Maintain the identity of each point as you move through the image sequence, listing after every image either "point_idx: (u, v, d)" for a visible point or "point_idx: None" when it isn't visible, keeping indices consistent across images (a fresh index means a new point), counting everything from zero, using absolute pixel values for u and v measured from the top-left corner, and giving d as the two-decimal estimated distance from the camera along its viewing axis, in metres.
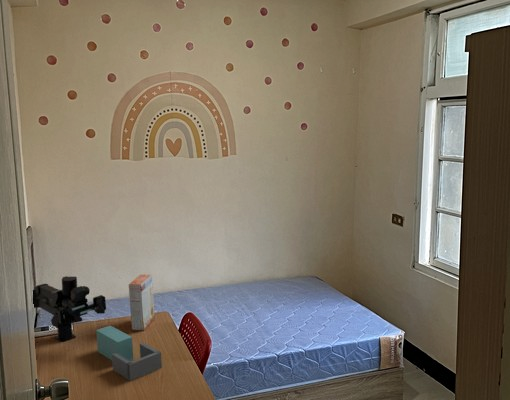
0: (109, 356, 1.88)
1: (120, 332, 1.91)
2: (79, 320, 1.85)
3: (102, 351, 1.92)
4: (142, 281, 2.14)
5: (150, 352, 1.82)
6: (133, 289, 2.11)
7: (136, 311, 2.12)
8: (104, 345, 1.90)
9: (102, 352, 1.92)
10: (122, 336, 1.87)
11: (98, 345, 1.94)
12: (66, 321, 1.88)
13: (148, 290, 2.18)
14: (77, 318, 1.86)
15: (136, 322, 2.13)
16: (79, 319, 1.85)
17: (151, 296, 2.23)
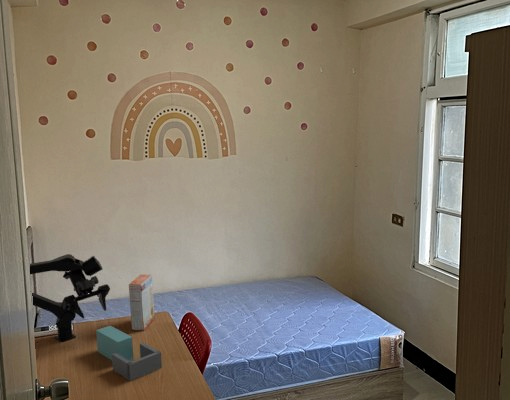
0: (109, 356, 1.88)
1: (120, 332, 1.91)
2: (81, 316, 1.96)
3: (102, 351, 1.92)
4: (142, 281, 2.14)
5: (150, 352, 1.82)
6: (133, 289, 2.11)
7: (136, 311, 2.12)
8: (104, 345, 1.90)
9: (102, 352, 1.92)
10: (122, 336, 1.87)
11: (98, 345, 1.94)
12: (69, 308, 1.97)
13: (148, 290, 2.18)
14: (80, 314, 1.96)
15: (136, 322, 2.13)
16: (81, 316, 1.96)
17: (151, 296, 2.23)
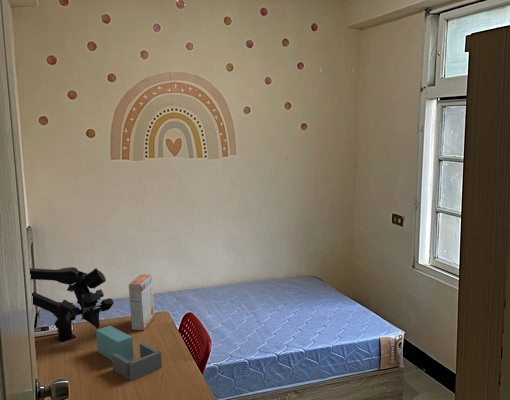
0: (109, 356, 1.88)
1: (120, 332, 1.91)
2: (95, 326, 1.99)
3: (102, 352, 1.92)
4: (142, 281, 2.14)
5: (150, 352, 1.82)
6: (133, 289, 2.11)
7: (136, 311, 2.12)
8: (104, 345, 1.90)
9: (102, 352, 1.92)
10: (123, 336, 1.87)
11: (98, 345, 1.94)
12: (83, 318, 2.00)
13: (148, 290, 2.18)
14: (94, 323, 1.99)
15: (136, 322, 2.13)
16: (95, 326, 1.99)
17: (151, 296, 2.23)
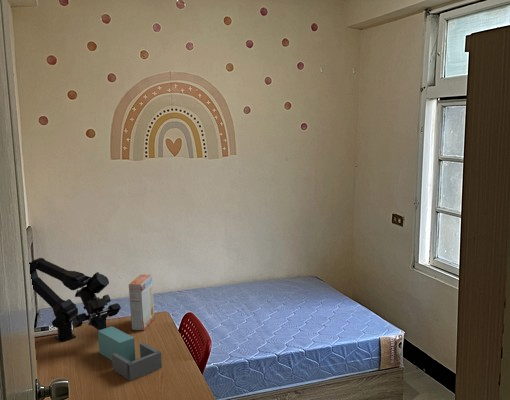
0: (111, 357, 1.87)
1: (122, 333, 1.90)
2: None
3: (104, 352, 1.91)
4: (142, 281, 2.14)
5: (150, 352, 1.82)
6: (133, 289, 2.11)
7: (136, 311, 2.12)
8: (106, 346, 1.89)
9: (104, 353, 1.91)
10: (124, 337, 1.86)
11: (100, 346, 1.93)
12: (90, 324, 1.96)
13: (148, 290, 2.18)
14: (101, 329, 1.95)
15: (136, 322, 2.13)
16: None
17: (151, 296, 2.23)
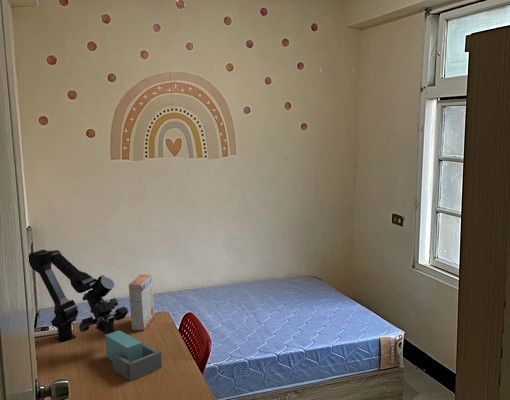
0: None
1: (129, 337, 1.86)
2: None
3: (111, 357, 1.87)
4: (142, 281, 2.14)
5: (150, 352, 1.82)
6: (133, 289, 2.11)
7: (136, 311, 2.12)
8: (113, 350, 1.85)
9: (111, 358, 1.87)
10: (132, 342, 1.82)
11: (107, 350, 1.89)
12: (97, 328, 1.92)
13: (148, 290, 2.18)
14: None
15: (136, 322, 2.13)
16: None
17: (151, 296, 2.23)
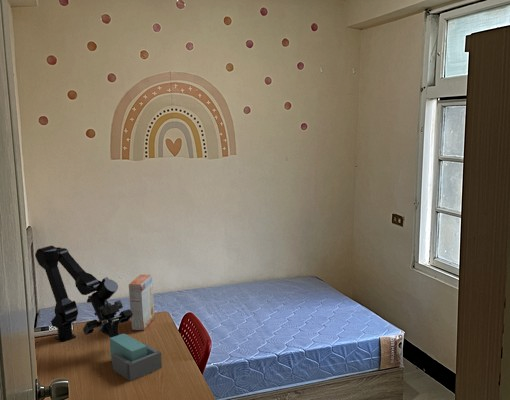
0: None
1: (134, 340, 1.83)
2: None
3: None
4: (142, 281, 2.14)
5: (150, 352, 1.82)
6: (133, 289, 2.11)
7: (136, 311, 2.12)
8: (118, 354, 1.82)
9: None
10: (137, 345, 1.79)
11: (111, 354, 1.86)
12: (101, 331, 1.90)
13: (148, 290, 2.18)
14: None
15: (136, 322, 2.13)
16: None
17: (151, 296, 2.23)
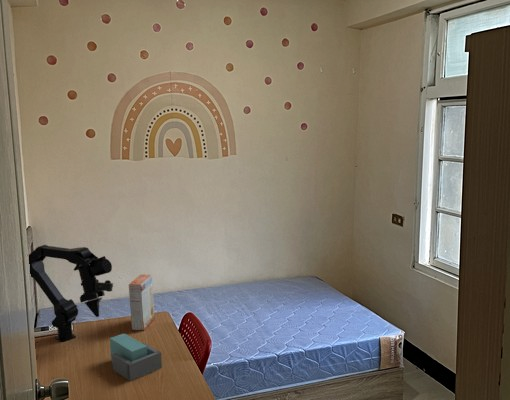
0: None
1: (134, 341, 1.83)
2: (95, 314, 1.98)
3: None
4: (142, 281, 2.14)
5: (150, 352, 1.82)
6: (133, 289, 2.11)
7: (136, 311, 2.12)
8: (118, 354, 1.82)
9: None
10: (137, 345, 1.79)
11: (111, 354, 1.86)
12: (87, 302, 1.95)
13: (148, 290, 2.18)
14: (96, 312, 1.98)
15: (136, 322, 2.13)
16: (96, 314, 1.98)
17: (151, 296, 2.23)
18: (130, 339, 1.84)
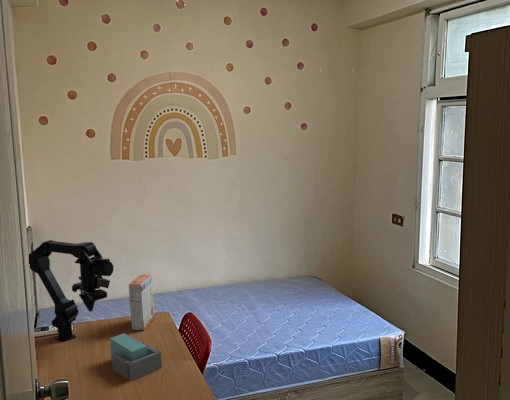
0: None
1: (134, 341, 1.83)
2: (90, 309, 2.01)
3: None
4: (142, 281, 2.14)
5: (150, 352, 1.82)
6: (133, 289, 2.11)
7: (136, 311, 2.12)
8: (118, 354, 1.82)
9: None
10: (137, 345, 1.79)
11: (111, 354, 1.86)
12: None
13: (148, 290, 2.18)
14: (91, 307, 2.01)
15: (136, 322, 2.13)
16: (91, 309, 2.01)
17: (151, 296, 2.23)
18: (130, 339, 1.84)
